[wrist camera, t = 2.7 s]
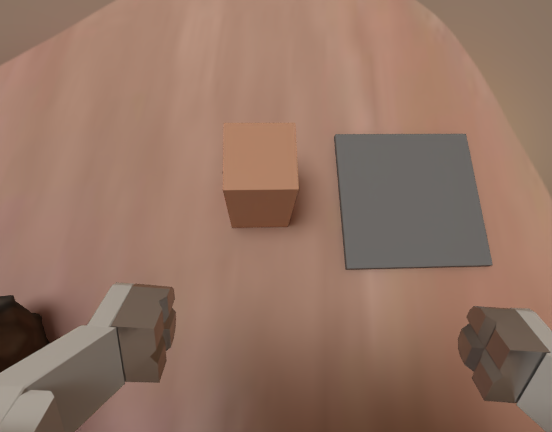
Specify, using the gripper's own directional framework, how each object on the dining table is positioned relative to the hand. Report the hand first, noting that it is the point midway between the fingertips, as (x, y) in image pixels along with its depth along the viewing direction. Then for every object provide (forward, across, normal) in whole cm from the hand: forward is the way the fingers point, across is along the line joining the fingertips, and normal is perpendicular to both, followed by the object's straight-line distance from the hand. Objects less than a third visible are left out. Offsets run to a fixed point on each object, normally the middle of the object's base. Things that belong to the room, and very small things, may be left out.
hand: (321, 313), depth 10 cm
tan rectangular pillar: (+26, +2, +9) cm, 27 cm away
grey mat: (+26, -13, +8) cm, 30 cm away
